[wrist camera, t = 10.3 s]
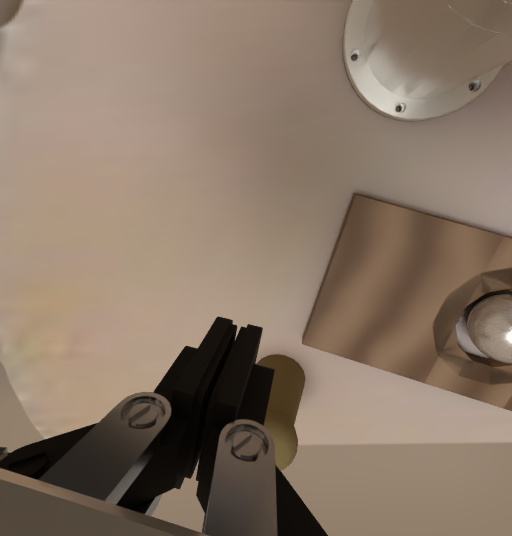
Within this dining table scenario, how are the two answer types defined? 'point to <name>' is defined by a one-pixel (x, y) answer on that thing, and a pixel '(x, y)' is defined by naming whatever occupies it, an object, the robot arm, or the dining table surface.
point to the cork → (283, 406)
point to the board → (411, 297)
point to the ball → (492, 327)
